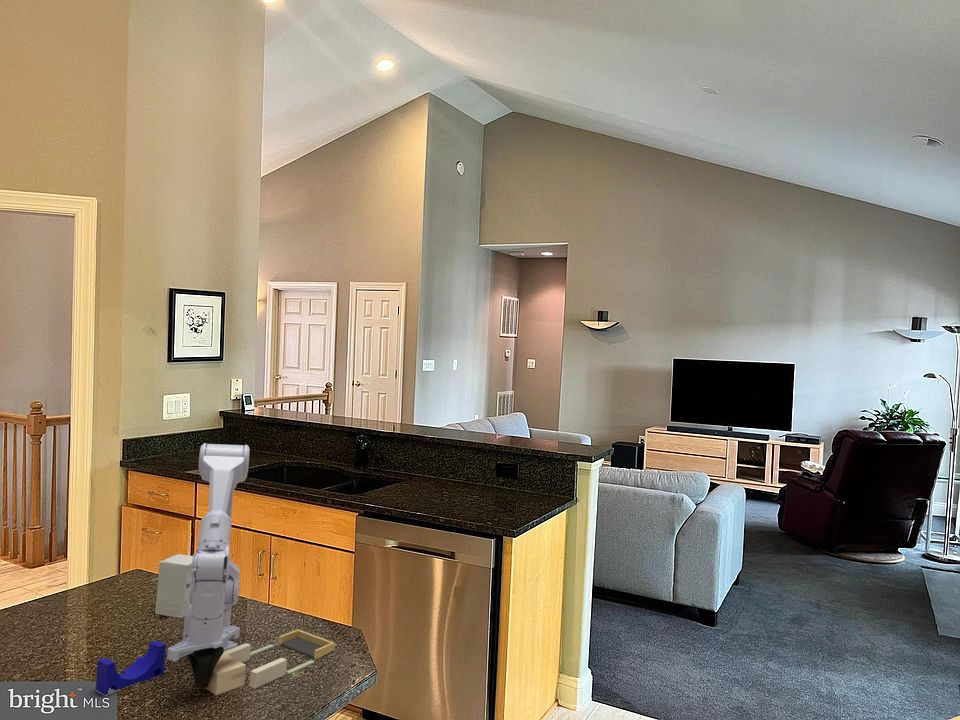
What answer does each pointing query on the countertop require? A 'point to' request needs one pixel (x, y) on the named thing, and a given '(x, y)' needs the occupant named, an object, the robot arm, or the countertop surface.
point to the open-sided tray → (306, 644)
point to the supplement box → (174, 586)
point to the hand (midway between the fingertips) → (201, 686)
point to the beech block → (227, 675)
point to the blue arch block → (131, 669)
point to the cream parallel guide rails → (261, 673)
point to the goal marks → (288, 670)
